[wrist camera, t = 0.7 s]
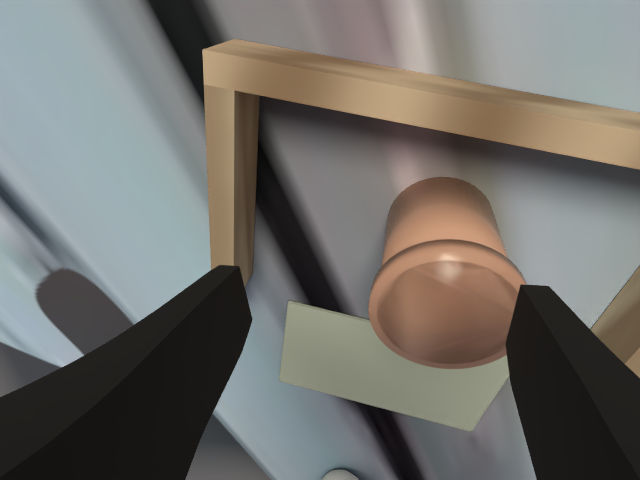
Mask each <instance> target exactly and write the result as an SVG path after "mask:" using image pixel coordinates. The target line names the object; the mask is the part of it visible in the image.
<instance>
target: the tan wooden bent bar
mask: <svg viewBox="0 0 640 480" xmlns="http://www.w3.org/2000/svg"><path fill="white" fill-rule="evenodd" d="M203 73H204V98H205V123H206V148H207V174H208V199H209V224H210V249H211V270H212V269H214V268H215V267H217V266H218V265H230V266H240V270H241V274H242V279H243V283H244V287H245V286H246V284H247V282H248V281H249V279H250V277H251V275H252V273H253V250H254V225H255V200H256V175H257V150H258V125H259V100H260V96H266V97H271V98H276V99H281V100H286V101H291V102H296V103H301V104H307V105H312V106H317V107H322V108H327V109H332V110H337V111H342V112H347V113H353V114H358V115H363V116H368V117H373V118H378V119H383V120H388V121H394V122H399V123H404V124H409V125H414V126H419V127H424V128H429V129H434V130H440V131H445V132H450V133H455V134H460V135H465V136H470V137H475V138H481V139H486V140H491V141H496V142H501V143H506V144H511V145H516V146H522V147H527V148H532V149H537V150H542V151H547V152H552V153H557V154H562V155H568V156H573V157H578V158H583V159H588V160H593V161H598V162H603V163H609V164H614V165H619V166H624V167H629V168H634V169H639V170H640V113H637V112H632V111H626V110H621V109H615V108H610V107H604V106H599V105H593V104H588V103H582V102H577V101H571V100H566V99H560V98H555V97H550V96H544V95H539V94H533V93H528V92H522V91H517V90H511V89H506V88H500V87H495V86H489V85H484V84H478V83H473V82H467V81H462V80H456V79H451V78H445V77H440V76H435V75H429V74H424V73H418V72H413V71H407V70H402V69H396V68H391V67H385V66H380V65H374V64H369V63H363V62H358V61H352V60H347V59H341V58H336V57H330V56H325V55H319V54H314V53H309V52H303V51H298V50H292V49H287V48H281V47H276V46H270V45H265V44H259V43H254V42H248V41H243V40H237V39H233V40H230V41H227V42H224V43H221V44H218V45H215V46H212V47H209V48H206V49H203ZM590 330H591V331H592V332H593V333H594V334H595V335H596V336H597V337H598V338H599V339H600V340H601V341H602V342H603V343H604V344H605V345H606V346H607V347H608V348H609V349H610V350H611V351H612V352H613V353H614V354H615V355H616V356H617V357H618V358H619V359H620V360H621V361H622V362H623V363H624V364H625V365H626V366H627V367H628V368H630V369H631V370H632V371H633V372H634V373H635V374H636V375H637V376H638V377H639V378H640V267H639V268H638V269H637V270H636V272H635V273H634V274H633V276H632V277H631V278H630V279H629V281H628V282H627V283H626V284H625V286H624V287H623V288H622V290H621V291H620V292H619V293H618V295H617V296H616V297H615V299H614V300H613V301H612V302H611V304H610V305H609V306H608V308H607V309H606V310H605V311H604V313H603V314H602V315H601V317H600V318H599V319H598V320H597V322H596V323H595V324H594V326H593V327H592V328H591V329H590Z"/></svg>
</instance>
